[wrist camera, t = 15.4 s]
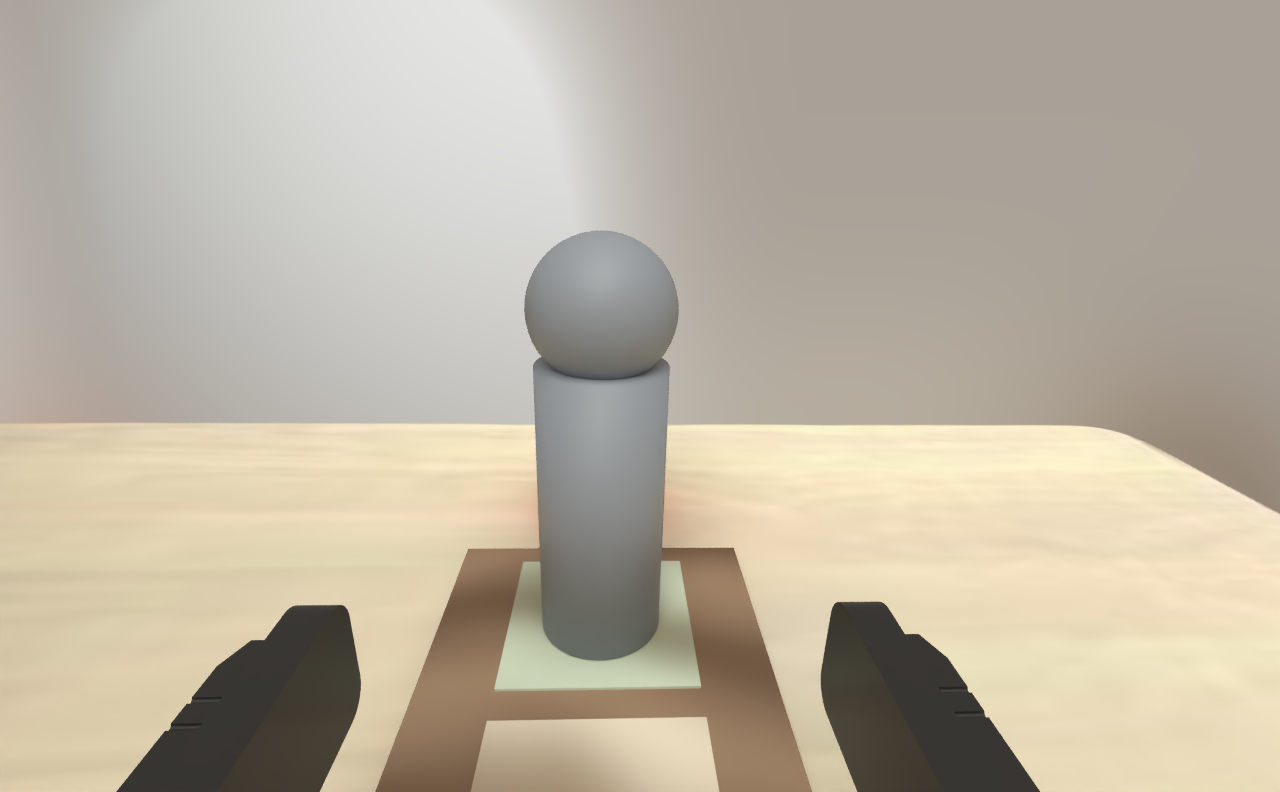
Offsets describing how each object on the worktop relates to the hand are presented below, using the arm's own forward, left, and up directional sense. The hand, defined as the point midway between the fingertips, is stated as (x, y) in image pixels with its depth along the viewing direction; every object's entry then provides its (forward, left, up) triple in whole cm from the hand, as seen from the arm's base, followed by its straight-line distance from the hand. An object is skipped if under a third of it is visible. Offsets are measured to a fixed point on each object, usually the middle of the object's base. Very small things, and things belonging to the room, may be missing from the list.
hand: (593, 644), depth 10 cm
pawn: (-9, +5, -8) cm, 14 cm away
